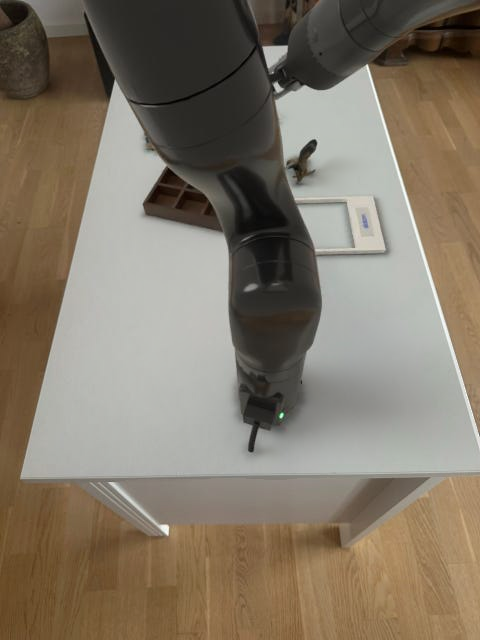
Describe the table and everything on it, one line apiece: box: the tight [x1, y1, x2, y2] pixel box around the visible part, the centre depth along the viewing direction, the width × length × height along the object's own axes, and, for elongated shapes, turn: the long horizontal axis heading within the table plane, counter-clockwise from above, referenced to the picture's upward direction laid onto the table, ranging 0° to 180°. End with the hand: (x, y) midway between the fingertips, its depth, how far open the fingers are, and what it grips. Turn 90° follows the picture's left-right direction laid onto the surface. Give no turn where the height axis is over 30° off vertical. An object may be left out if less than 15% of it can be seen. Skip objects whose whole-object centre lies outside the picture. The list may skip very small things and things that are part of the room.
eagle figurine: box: [285, 138, 318, 185], centre depth 94 cm, size 8×7×9 cm
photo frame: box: [294, 195, 387, 256], centre depth 87 cm, size 15×1×18 cm
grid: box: [142, 165, 224, 233], centre depth 93 cm, size 19×19×3 cm
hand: (268, 95), depth 59 cm, fingers open, 8 cm apart
